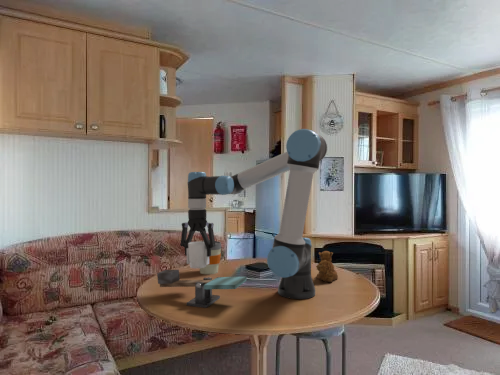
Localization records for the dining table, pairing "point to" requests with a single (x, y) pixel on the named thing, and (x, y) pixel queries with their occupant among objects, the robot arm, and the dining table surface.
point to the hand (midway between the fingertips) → (198, 263)
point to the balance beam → (172, 280)
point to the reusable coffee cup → (213, 260)
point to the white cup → (197, 254)
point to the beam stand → (203, 296)
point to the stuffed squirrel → (326, 267)
